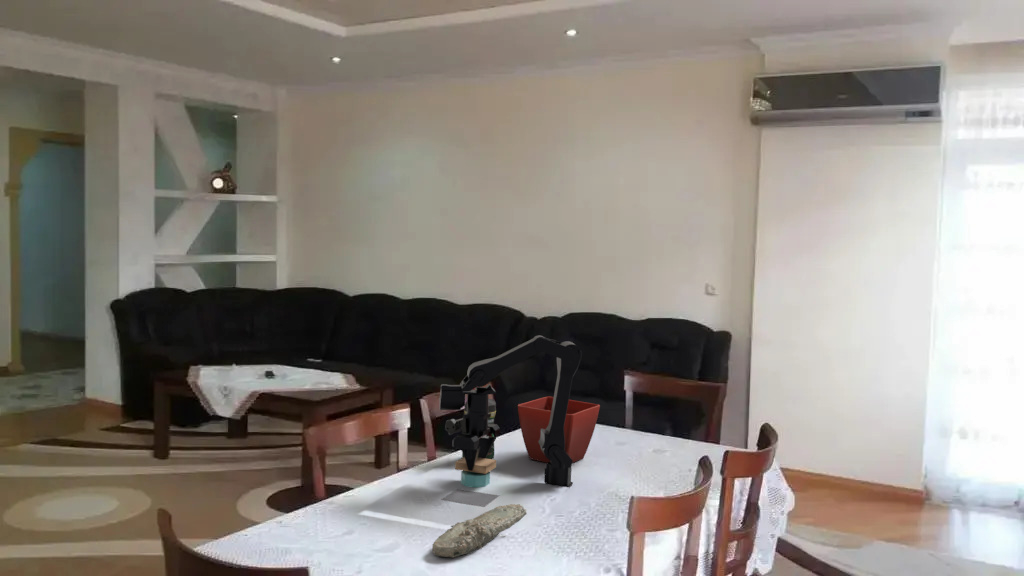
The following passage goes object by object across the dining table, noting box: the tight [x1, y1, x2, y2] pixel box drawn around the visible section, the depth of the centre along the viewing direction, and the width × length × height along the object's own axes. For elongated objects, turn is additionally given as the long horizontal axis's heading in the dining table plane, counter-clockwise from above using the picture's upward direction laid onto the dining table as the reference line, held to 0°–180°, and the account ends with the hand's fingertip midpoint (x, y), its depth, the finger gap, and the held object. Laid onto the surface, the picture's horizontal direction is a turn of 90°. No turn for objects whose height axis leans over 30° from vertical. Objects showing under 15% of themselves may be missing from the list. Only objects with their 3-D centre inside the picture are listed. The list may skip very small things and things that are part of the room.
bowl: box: [460, 470, 491, 488], centre depth 230 cm, size 7×7×4 cm
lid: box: [454, 457, 497, 474], centre depth 230 cm, size 9×7×2 cm
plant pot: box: [517, 396, 601, 464], centre depth 260 cm, size 19×19×17 cm
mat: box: [440, 488, 500, 508], centre depth 218 cm, size 12×10×1 cm
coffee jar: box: [461, 398, 497, 460], centre depth 257 cm, size 10×8×19 cm
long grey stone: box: [432, 503, 527, 558], centre depth 195 cm, size 35×5×10 cm
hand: (476, 467), depth 230 cm, fingers closed on lid, 7 cm apart
